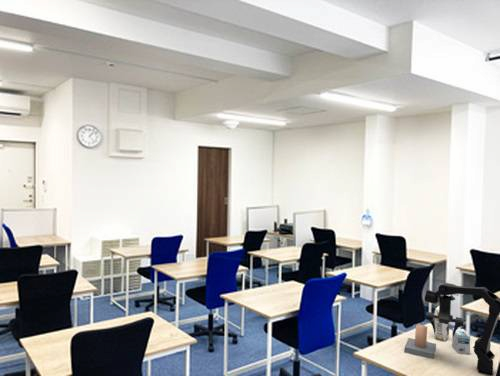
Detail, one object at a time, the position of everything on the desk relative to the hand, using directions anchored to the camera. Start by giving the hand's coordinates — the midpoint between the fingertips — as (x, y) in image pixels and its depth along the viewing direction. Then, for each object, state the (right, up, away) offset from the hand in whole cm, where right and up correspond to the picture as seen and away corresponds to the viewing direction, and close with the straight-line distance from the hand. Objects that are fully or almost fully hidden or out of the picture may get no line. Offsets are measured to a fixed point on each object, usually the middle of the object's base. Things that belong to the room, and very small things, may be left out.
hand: (443, 334), depth 214 cm
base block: (-10, -13, +8) cm, 18 cm away
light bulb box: (+15, -13, +10) cm, 22 cm away
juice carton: (+11, -13, +26) cm, 31 cm away
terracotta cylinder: (-9, -10, +8) cm, 16 cm away
